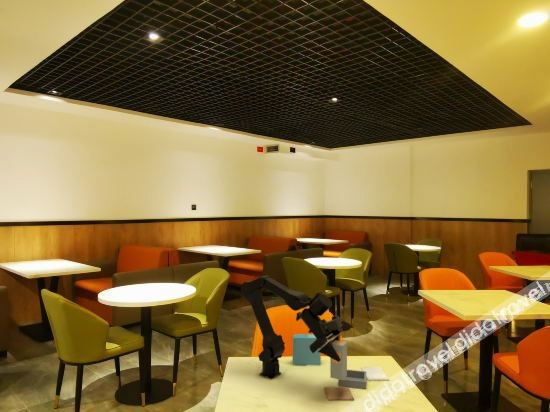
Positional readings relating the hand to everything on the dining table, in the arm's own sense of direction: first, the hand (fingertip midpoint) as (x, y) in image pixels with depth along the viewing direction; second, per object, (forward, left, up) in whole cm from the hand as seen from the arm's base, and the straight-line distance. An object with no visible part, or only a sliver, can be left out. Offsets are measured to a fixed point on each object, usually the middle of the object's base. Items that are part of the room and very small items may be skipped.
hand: (342, 358), depth 139 cm
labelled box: (-1, 0, -7) cm, 7 cm away
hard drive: (0, +24, -14) cm, 28 cm away
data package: (-28, +16, -14) cm, 35 cm away
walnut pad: (-1, 0, -13) cm, 13 cm away
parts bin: (-3, +12, -13) cm, 18 cm away
